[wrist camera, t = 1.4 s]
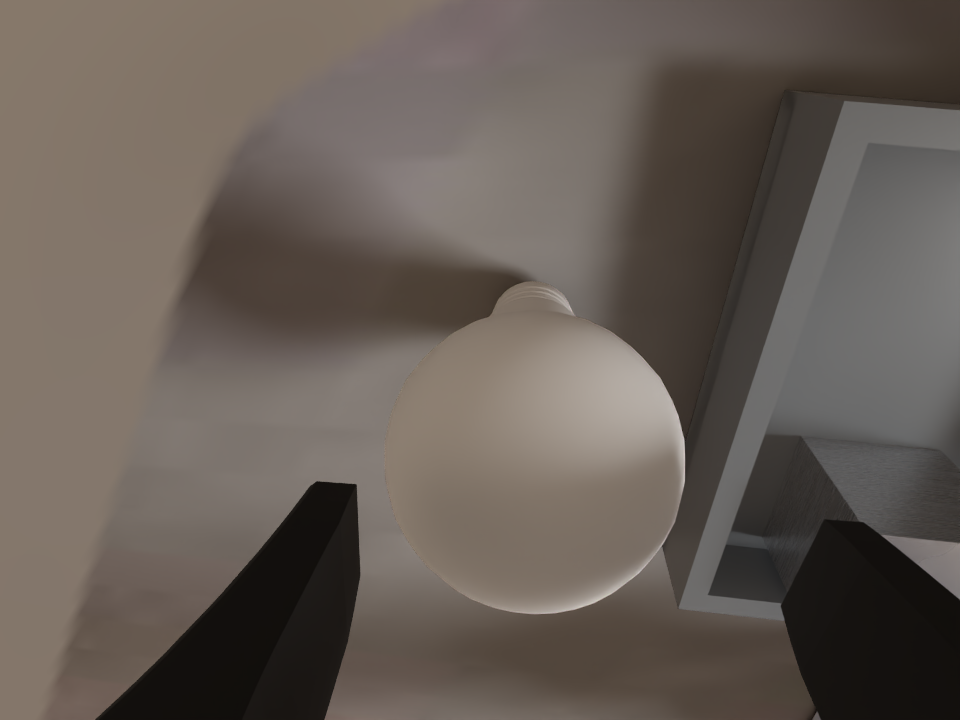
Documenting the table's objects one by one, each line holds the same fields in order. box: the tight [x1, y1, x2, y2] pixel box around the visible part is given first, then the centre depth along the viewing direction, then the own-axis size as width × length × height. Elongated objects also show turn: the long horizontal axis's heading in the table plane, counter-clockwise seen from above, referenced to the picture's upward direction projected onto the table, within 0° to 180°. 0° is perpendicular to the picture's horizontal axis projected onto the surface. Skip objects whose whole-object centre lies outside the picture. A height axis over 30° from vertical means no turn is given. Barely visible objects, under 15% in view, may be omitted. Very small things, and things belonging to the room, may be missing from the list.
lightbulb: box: [385, 281, 685, 614], centre depth 15 cm, size 6×6×11 cm
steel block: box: [762, 436, 960, 599], centre depth 19 cm, size 4×4×4 cm
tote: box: [662, 90, 960, 621], centre depth 18 cm, size 16×11×4 cm
